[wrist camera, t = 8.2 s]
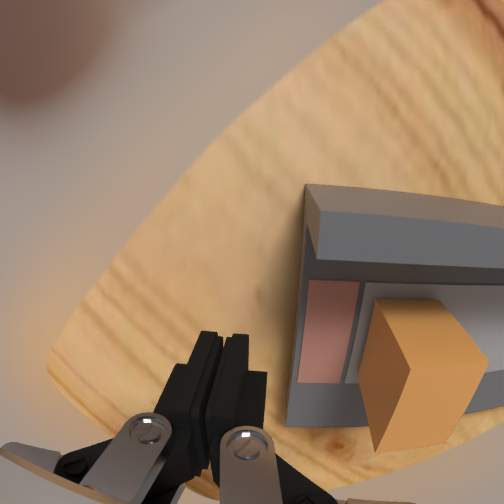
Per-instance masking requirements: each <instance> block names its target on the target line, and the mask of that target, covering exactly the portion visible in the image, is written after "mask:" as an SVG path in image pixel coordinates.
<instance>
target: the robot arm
mask: <svg viewBox="0 0 504 504" xmlns="http://www.w3.org/2000/svg"><path fill="white" fill-rule="evenodd" d="M248 357H249V335H247V334H233V335H232V337H227V338H226V341H225V345H224V348H223V337H221V336H218V334H217V332H210V331H201V333H200V335H199V337H198V340H197V342H196V344H195V347H194V349H193V352H192V354H191V356H190V359H189V361H188V363H187V364H179V363H177V364H176V365H175V367H174V369H173V371H172V373H171V375H170V377H169V379H168V381H167V384H166V386H165V388H164V390H163V392H162V394H161V396H160V399H159V401H158V403H157V405H156V407H155V409H154V412H153V413H151V412H148V413H140V414H137V415H135V416H133V417H131V418H130V419H129V420H128V421H127V422H126V423H125V424H124V426H123V427H122V428H121V430H120V431H119V432H118V434H117V435H116V436H115V437H114V438H112V439H109V440H107V441H104V442H101V443H98V444H95V445H92V446H89V447H86V448H82V449H79V450H76V451H73V452H70V453H67V454H65V455H61V454H60V453H59V452H57V451H52V450H47V449H42V448H38V447H33V446H29V445H25V444H21V443H17V442H10V443H6V444H5V445H3V446H2V447H1V448H0V504H177V502H178V500H179V498H180V496H181V494H182V492H183V490H184V488H185V485H186V482H187V481H189V480H191V479H193V478H194V476H199V477H200V475H201V471H202V469H208V466H209V462H211V469H212V474H213V480H214V482H215V483H216V484H217V485H218V487H219V488H220V504H415V503H410V502H388V501H371V500H359V499H350V498H348V500H347V501H344V500H336V499H334V498H333V497H332V496H331V495H330V494H328V493H327V492H326V491H324V490H323V489H321V488H320V487H319V486H317V485H316V484H314V483H313V482H312V481H310V480H309V479H308V478H306V477H305V476H304V475H302V474H301V473H300V472H298V471H297V470H296V469H295V468H293V467H292V466H291V465H289V464H288V463H287V462H286V461H284V460H283V459H282V458H281V457H279V456H278V455H277V454H276V453H275V448H274V443H273V440H272V437H271V436H270V435H269V434H268V433H267V432H265V431H264V430H263V422H264V411H265V398H266V384H267V372H261V371H248Z"/></svg>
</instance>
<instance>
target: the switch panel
mask: <svg viewBox="0 0 504 504" xmlns="http://www.w3.org/2000/svg"><path fill="white" fill-rule="evenodd" d="M375 299H416V300H440V301H441V302H442V303H443V305H444V306H445V307H446V308H447V309H448V310H449V312H450V313H451V314H452V315H453V316H454V318H455V319H456V320H457V321H458V322H459V324H460V325H461V326H462V327H463V328H464V330H465V331H466V332H467V333H468V335H469V336H470V337H471V338H472V340H473V341H474V342H475V343H476V345H477V346H478V347H479V348H480V350H481V351H482V352H483V354H484V355H485V356H486V357H487V359H488V360H489V361H490V362H489V364H488V366H487V369H486V371H485V373H484V375H483V377H482V379H481V381H480V383H479V385H478V387H477V389H476V391H475V393H474V395H473V397H472V399H471V401H470V403H469V405H468V407H467V408H466V410H465V412H464V414H468V413H473V412H478V411H482V410H487V409H491V408H495V407H499V406H503V405H504V207H503V206H497V205H491V204H485V203H479V202H473V201H466V200H460V199H453V198H446V197H438V196H431V195H423V194H415V193H406V192H397V191H388V190H378V189H367V188H356V187H344V186H331V185H316V184H305V202H304V219H303V235H302V249H301V263H300V275H299V287H298V299H297V310H296V320H295V330H294V340H293V349H292V358H291V367H290V376H289V384H288V392H287V400H286V425H285V426H286V427H360V426H369V424H368V419H367V415H366V410H365V406H364V402H363V398H362V394H361V390H360V385H359V381H358V377H357V376H358V372H359V368H360V364H361V361H362V357H363V353H364V348H365V344H366V340H367V336H368V331H369V327H370V322H371V318H372V313H373V308H374V303H375Z"/></svg>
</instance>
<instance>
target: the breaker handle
mask: <svg viewBox="0 0 504 504" xmlns="http://www.w3.org/2000/svg"><path fill="white" fill-rule="evenodd" d="M489 362H490V361H489V360H488V359H487V357H486V356H485V355H484V354H483V352H482V351H481V350H480V348H479V347H478V346H477V345H476V343H475V342H474V341H473V340H472V338H471V337H470V336H469V335H468V333H467V332H466V331H465V330H464V328H463V327H462V326H461V325H460V324H459V322H458V321H457V320H456V319H455V318H454V316H453V315H452V314H451V313H450V312H449V310H448V309H447V308H446V307H445V306H444V305H443V303H442V302H441V301H440V300H416V299H375V303H374V308H373V313H372V318H371V322H370V327H369V331H368V336H367V340H366V344H365V348H364V353H363V357H362V361H361V364H360V368H359V372H358V376H357V377H358V381H359V385H360V390H361V394H362V398H363V402H364V406H365V410H366V415H367V419H368V424H369V428H370V433H371V437H372V442H373V447H374V452H375V453H383V452H393V451H401V450H409V449H416V448H422V447H428V446H434V445H439V444H445V443H446V442H447V440H448V439H449V437H450V436H451V434H452V432H453V431H454V429H455V427H456V426H457V424H458V422H459V421H460V419H461V417H462V415H463V414H464V412H465V410H466V408H467V407H468V405H469V403H470V401H471V399H472V397H473V395H474V393H475V391H476V389H477V387H478V385H479V383H480V381H481V379H482V377H483V375H484V373H485V371H486V369H487V366H488V364H489Z"/></svg>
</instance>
